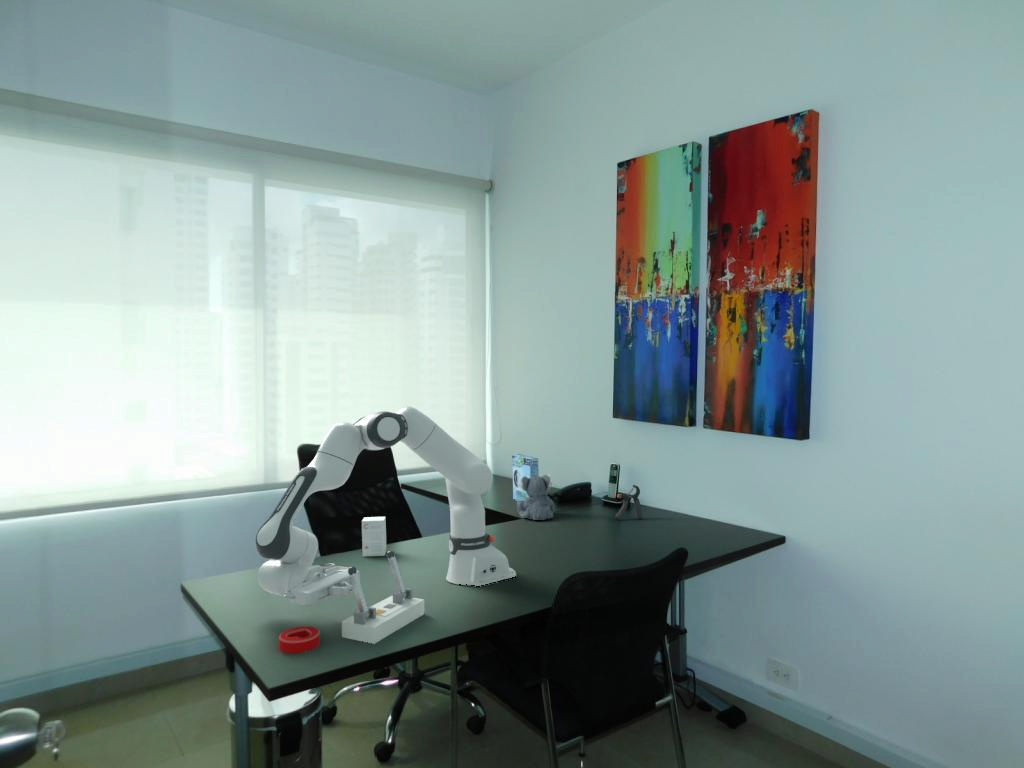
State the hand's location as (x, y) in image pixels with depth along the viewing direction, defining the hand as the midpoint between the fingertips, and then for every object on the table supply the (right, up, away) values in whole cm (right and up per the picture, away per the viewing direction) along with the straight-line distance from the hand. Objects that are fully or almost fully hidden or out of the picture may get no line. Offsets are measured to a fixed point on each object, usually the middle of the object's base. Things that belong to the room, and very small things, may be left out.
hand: (350, 590), depth 171 cm
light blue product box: (+48, -6, +163) cm, 170 cm away
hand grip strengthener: (+92, -7, +123) cm, 154 cm away
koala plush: (+52, -7, +129) cm, 139 cm away
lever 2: (+11, -5, +12) cm, 17 cm away
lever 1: (+4, -5, -2) cm, 7 cm away
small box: (-9, -9, +73) cm, 74 cm away
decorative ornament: (-11, -12, -7) cm, 17 cm away
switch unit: (+8, -11, +5) cm, 14 cm away
